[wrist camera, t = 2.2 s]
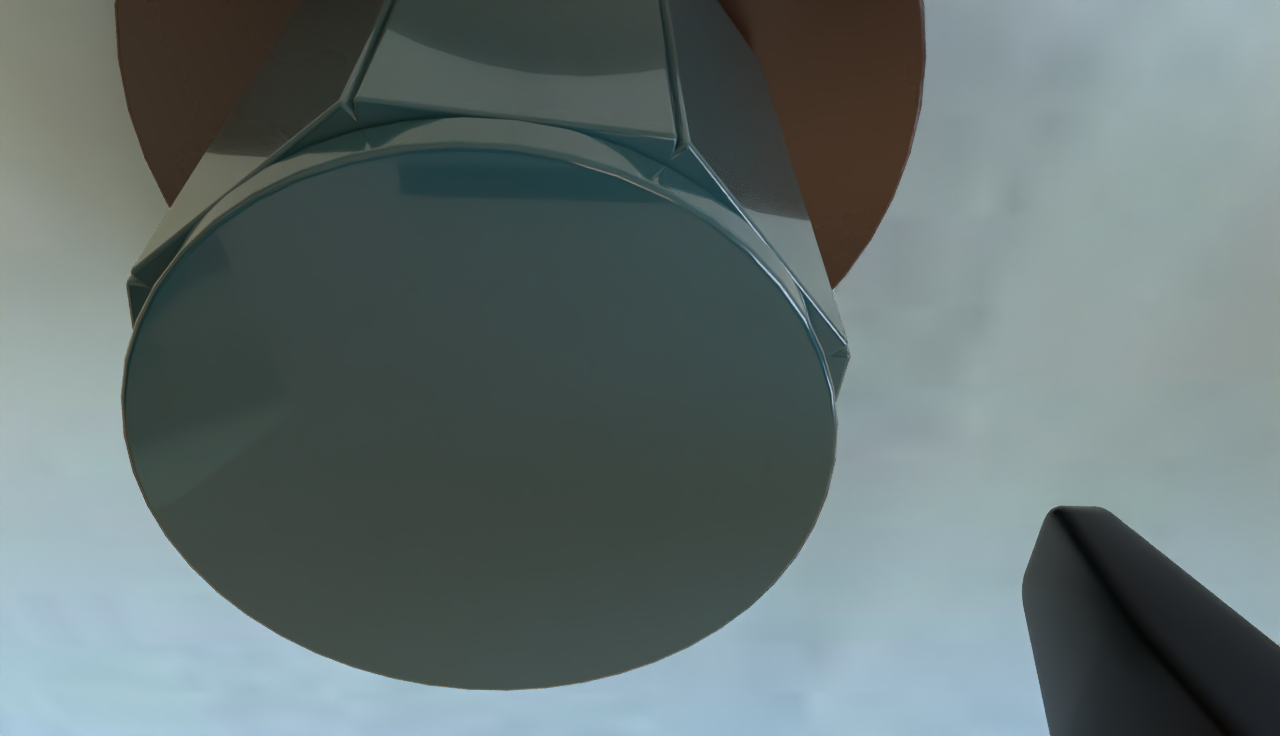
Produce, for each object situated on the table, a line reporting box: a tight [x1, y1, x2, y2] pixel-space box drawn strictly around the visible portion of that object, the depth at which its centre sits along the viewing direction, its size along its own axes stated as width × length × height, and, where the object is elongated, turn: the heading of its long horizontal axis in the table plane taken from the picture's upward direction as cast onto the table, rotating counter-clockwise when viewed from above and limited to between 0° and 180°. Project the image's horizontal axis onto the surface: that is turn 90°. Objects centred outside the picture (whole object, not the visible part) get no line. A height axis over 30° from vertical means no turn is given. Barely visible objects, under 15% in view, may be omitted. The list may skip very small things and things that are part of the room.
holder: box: [115, 0, 926, 290], centre depth 13 cm, size 11×11×8 cm
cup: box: [121, 0, 850, 691], centre depth 12 cm, size 6×6×7 cm
